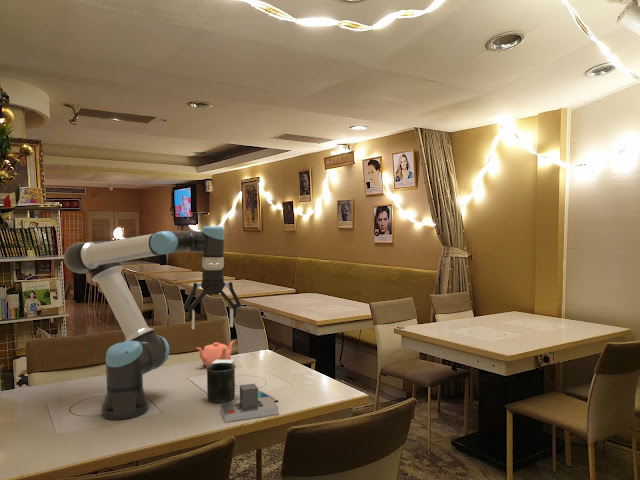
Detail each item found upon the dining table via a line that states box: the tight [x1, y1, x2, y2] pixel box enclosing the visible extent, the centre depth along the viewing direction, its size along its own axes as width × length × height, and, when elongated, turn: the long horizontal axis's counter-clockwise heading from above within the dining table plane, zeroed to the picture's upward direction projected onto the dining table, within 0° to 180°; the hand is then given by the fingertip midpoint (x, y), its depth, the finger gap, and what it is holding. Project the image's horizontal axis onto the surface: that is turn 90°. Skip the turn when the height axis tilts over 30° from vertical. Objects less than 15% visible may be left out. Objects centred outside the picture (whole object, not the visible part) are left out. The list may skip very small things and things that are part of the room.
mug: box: [205, 363, 236, 404], centre depth 177 cm, size 11×15×12 cm
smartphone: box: [258, 389, 279, 404], centre depth 176 cm, size 7×1×15 cm
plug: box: [239, 383, 259, 409], centre depth 162 cm, size 5×5×9 cm
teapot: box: [196, 340, 236, 367], centre depth 218 cm, size 14×14×11 cm
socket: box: [219, 396, 279, 423], centre depth 162 cm, size 18×11×3 cm, turn 111°
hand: (212, 327), depth 170 cm, fingers open, 13 cm apart
